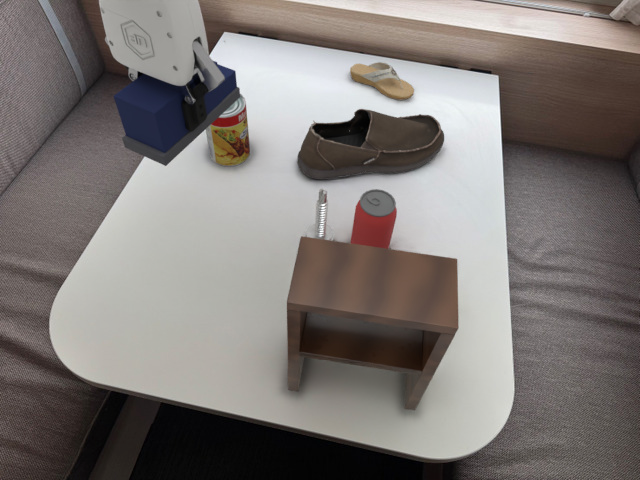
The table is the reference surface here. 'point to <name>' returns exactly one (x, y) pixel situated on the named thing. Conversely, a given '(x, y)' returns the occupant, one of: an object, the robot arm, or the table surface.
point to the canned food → (230, 135)
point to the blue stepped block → (167, 114)
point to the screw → (321, 220)
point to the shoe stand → (371, 310)
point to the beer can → (374, 219)
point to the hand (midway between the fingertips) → (175, 114)
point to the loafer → (369, 145)
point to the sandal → (382, 79)
